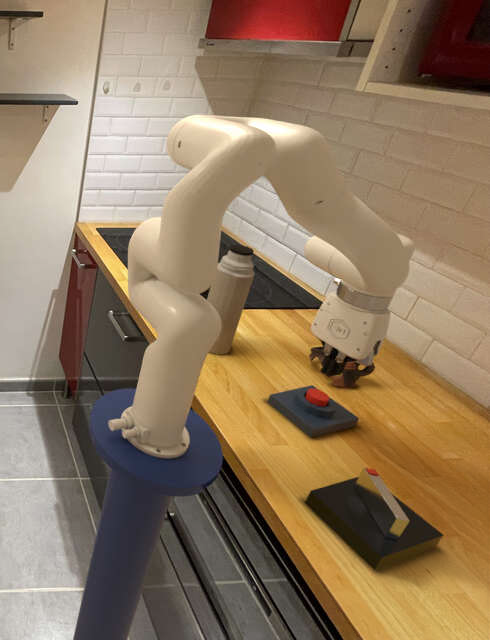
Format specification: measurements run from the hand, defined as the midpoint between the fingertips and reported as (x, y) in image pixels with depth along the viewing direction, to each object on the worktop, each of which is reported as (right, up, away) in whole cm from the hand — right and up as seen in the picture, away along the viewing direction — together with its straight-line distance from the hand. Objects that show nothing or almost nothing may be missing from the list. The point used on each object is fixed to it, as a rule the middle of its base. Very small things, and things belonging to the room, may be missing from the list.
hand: (329, 373), depth 91 cm
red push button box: (-1, -10, +4) cm, 11 cm away
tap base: (-9, -20, -18) cm, 28 cm away
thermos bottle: (-9, 0, +26) cm, 28 cm away
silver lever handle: (-9, -17, -19) cm, 27 cm away
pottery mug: (+15, -5, +16) cm, 22 cm away
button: (-1, -7, +3) cm, 7 cm away
